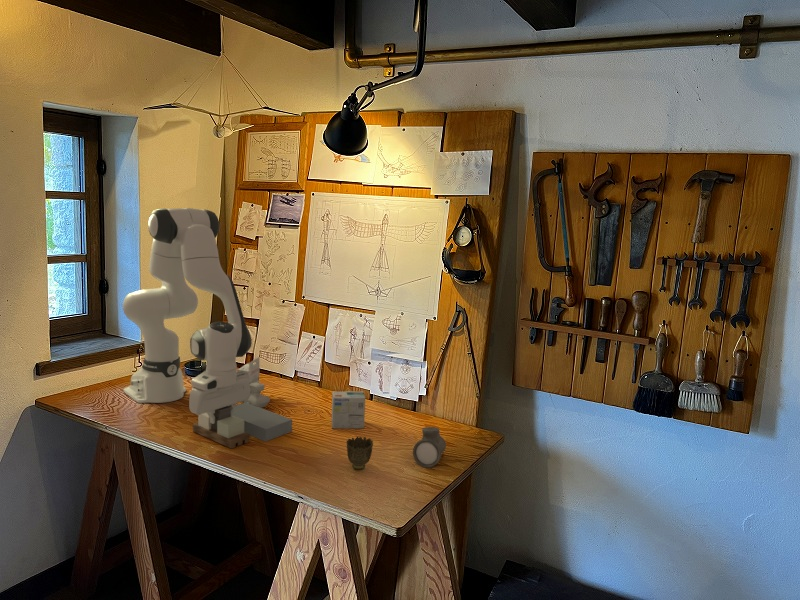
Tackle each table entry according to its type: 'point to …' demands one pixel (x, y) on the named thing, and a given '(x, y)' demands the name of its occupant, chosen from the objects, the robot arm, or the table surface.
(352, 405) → the light bulb box
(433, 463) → the pipe fitting
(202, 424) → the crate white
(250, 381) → the ink box
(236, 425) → the crate sage
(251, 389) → the stamp
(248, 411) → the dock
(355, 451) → the cup
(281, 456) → the table surface
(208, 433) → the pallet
